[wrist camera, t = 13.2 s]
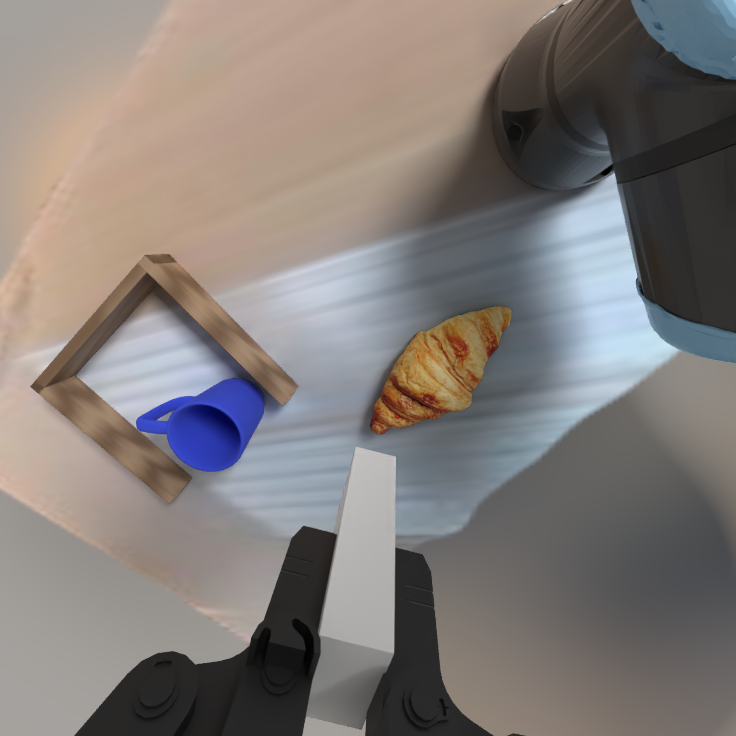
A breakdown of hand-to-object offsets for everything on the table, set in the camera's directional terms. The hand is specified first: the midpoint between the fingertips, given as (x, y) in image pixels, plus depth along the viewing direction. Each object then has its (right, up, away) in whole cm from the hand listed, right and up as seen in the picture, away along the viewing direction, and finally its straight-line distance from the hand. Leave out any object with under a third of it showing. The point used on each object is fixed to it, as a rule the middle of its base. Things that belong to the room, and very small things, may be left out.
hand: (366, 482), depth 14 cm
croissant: (+8, +4, +32) cm, 33 cm away
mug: (-18, 0, +34) cm, 39 cm away
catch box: (-24, +2, +34) cm, 41 cm away
